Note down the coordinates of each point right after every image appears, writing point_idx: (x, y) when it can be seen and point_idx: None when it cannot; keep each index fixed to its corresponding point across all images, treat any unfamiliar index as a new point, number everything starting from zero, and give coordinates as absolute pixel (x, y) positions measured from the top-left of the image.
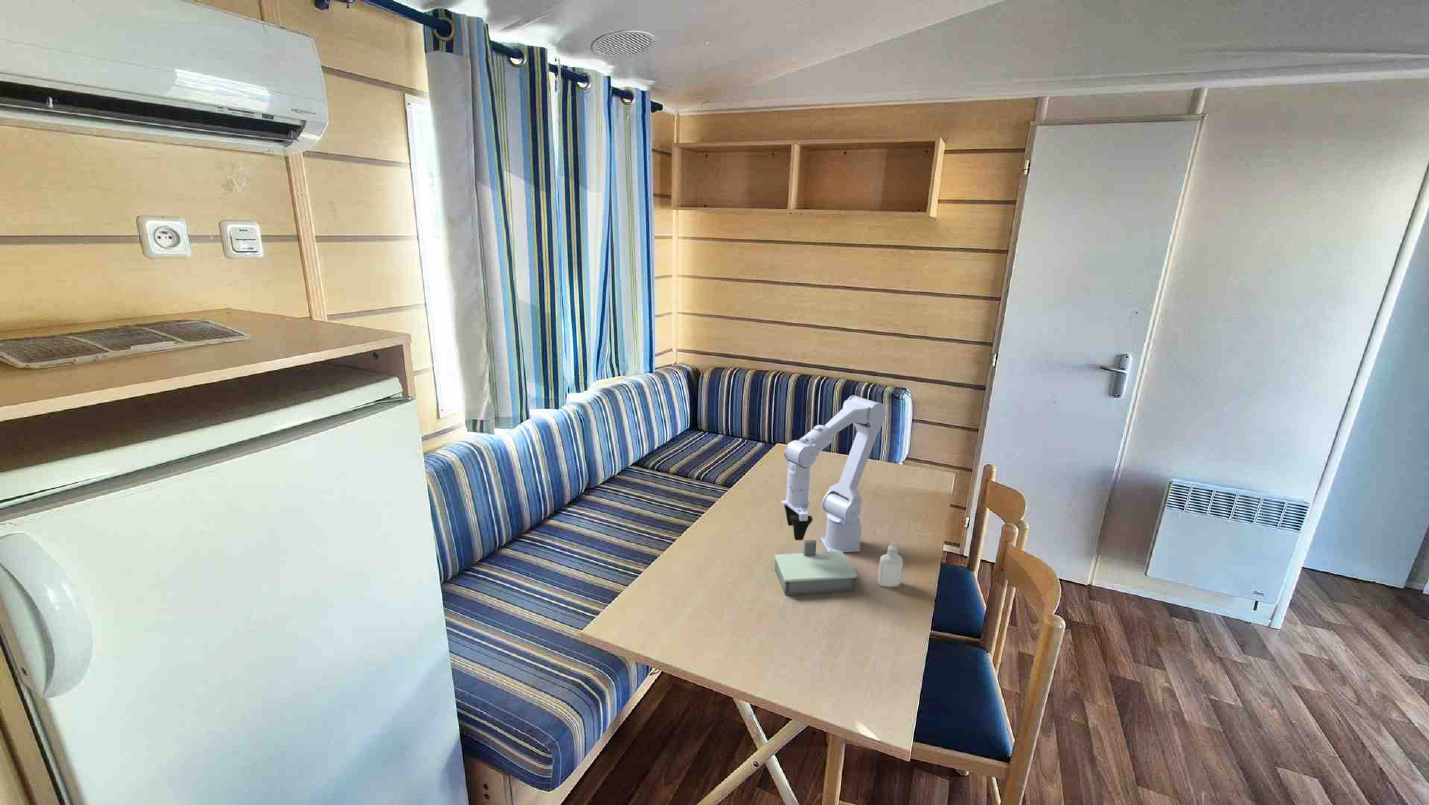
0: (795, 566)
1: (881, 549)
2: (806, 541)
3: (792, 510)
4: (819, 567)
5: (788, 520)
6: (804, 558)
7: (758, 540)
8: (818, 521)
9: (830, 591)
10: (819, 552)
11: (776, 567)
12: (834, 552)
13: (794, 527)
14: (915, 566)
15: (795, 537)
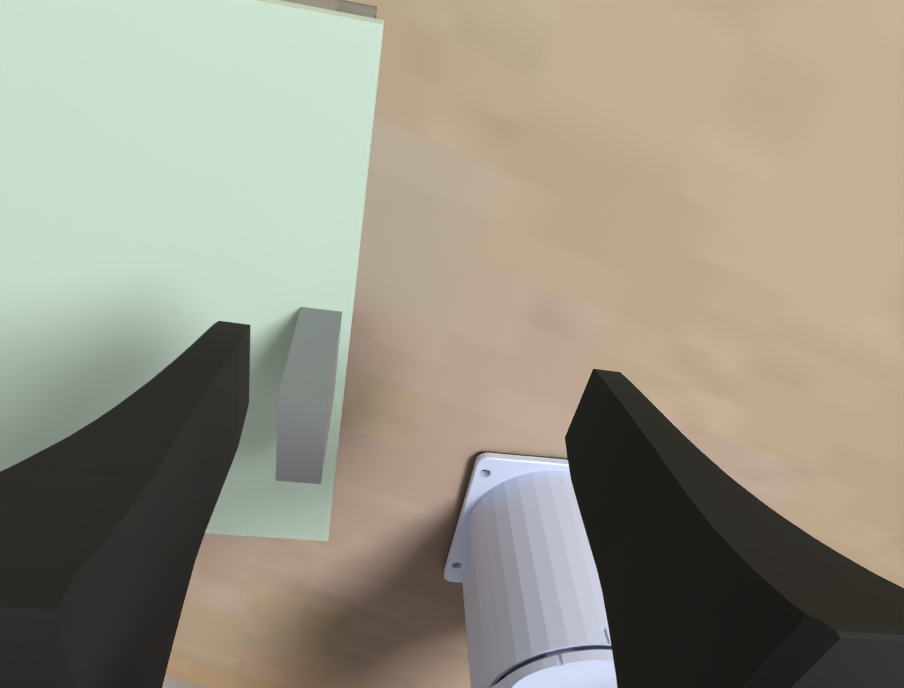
0: (121, 160)
1: (436, 636)
2: (301, 413)
3: (654, 585)
4: (105, 350)
5: (617, 416)
6: (262, 293)
7: (882, 57)
8: (811, 516)
9: None
10: (335, 424)
11: (322, 6)
12: (315, 503)
13: (48, 450)
14: (276, 680)
15: (197, 344)
